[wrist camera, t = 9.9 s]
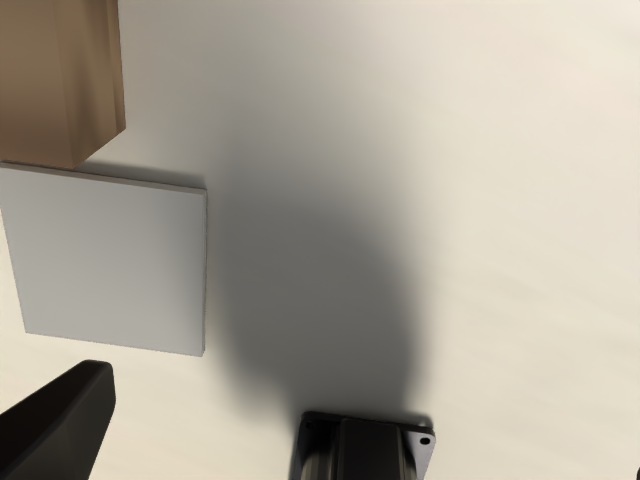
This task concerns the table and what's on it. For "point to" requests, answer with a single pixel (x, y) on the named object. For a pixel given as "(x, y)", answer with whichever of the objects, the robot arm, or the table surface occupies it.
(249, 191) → the table surface
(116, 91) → the socket block
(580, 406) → the table surface
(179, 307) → the pad
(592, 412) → the table surface
